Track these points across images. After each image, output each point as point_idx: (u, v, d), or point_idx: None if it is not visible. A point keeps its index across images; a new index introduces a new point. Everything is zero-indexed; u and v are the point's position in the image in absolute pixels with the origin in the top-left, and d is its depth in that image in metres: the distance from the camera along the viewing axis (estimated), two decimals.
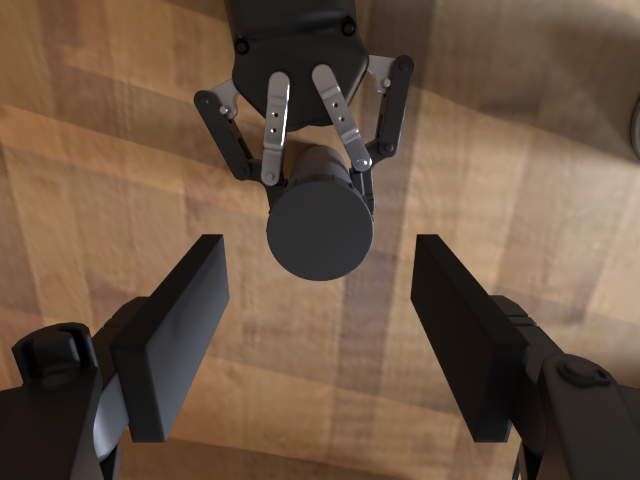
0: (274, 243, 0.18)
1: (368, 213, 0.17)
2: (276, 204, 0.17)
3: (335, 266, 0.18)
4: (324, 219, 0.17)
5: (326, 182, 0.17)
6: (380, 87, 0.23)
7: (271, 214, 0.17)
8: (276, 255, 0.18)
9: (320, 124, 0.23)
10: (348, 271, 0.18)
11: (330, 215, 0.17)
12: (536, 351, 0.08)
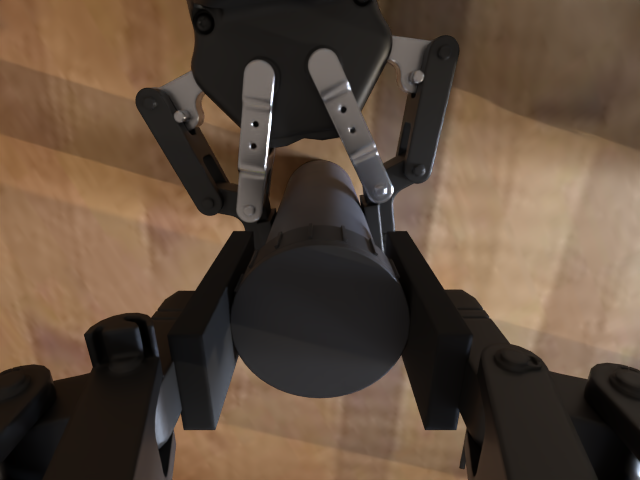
0: (243, 343, 0.11)
1: (403, 297, 0.10)
2: (245, 282, 0.10)
3: (345, 377, 0.11)
4: (327, 306, 0.10)
5: (331, 247, 0.10)
6: (407, 83, 0.16)
7: (236, 298, 0.10)
8: (247, 361, 0.11)
9: (320, 137, 0.16)
10: (366, 384, 0.11)
11: (337, 300, 0.10)
12: (484, 342, 0.09)
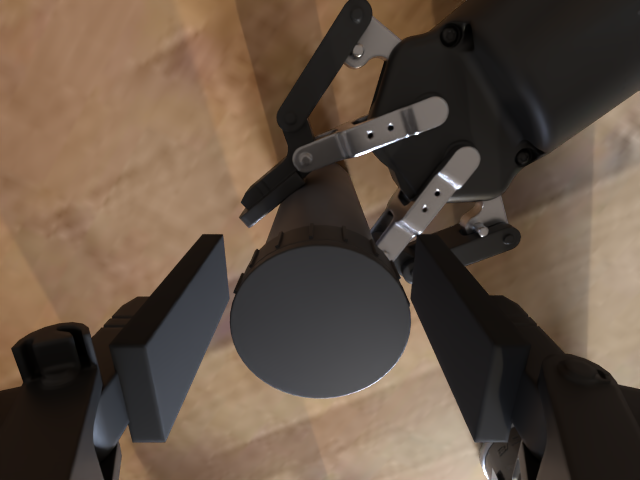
0: (277, 380, 0.11)
1: (359, 255, 0.10)
2: (234, 336, 0.11)
3: (379, 351, 0.11)
4: (308, 308, 0.10)
5: (265, 263, 0.10)
6: (471, 225, 0.19)
7: (239, 352, 0.11)
8: (293, 391, 0.11)
9: (402, 185, 0.17)
10: (403, 344, 0.11)
11: (311, 298, 0.10)
12: (537, 351, 0.08)
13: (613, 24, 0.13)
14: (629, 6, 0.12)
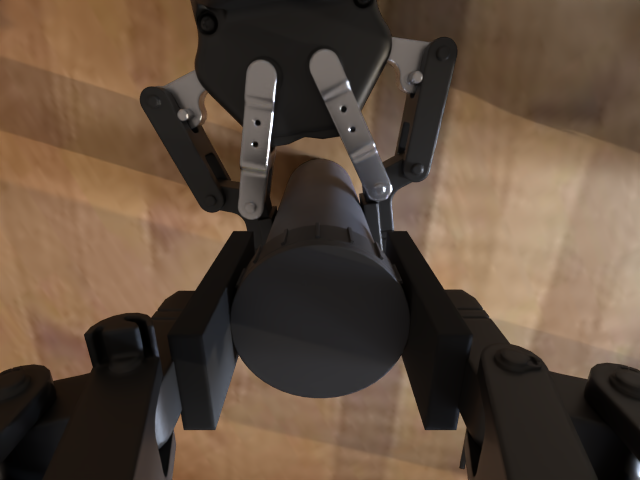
0: (350, 386, 0.11)
1: (265, 263, 0.10)
2: (287, 390, 0.11)
3: (377, 294, 0.10)
4: (293, 326, 0.10)
5: (232, 334, 0.10)
6: (406, 84, 0.16)
7: (304, 395, 0.11)
8: (371, 380, 0.11)
9: (321, 136, 0.17)
10: (383, 271, 0.10)
11: (285, 319, 0.10)
12: (484, 342, 0.09)
13: None
14: None
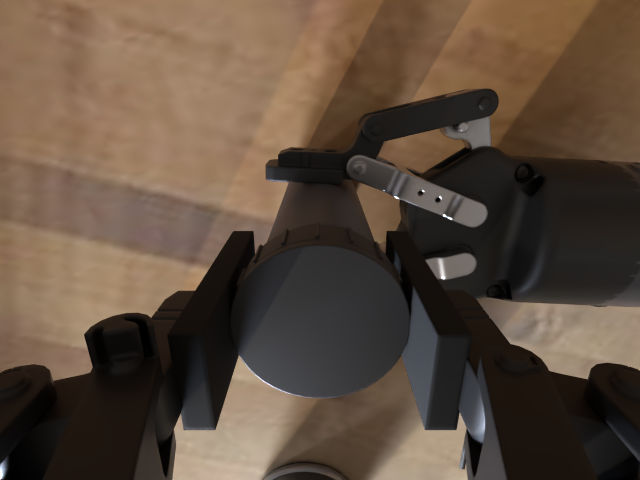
0: (350, 386, 0.11)
1: (265, 264, 0.10)
2: (287, 390, 0.11)
3: (377, 294, 0.10)
4: (294, 326, 0.10)
5: (232, 334, 0.10)
6: None
7: (304, 395, 0.11)
8: (371, 380, 0.11)
9: None
10: (383, 271, 0.10)
11: (285, 319, 0.10)
12: (484, 341, 0.09)
13: (620, 257, 0.16)
14: (636, 254, 0.16)
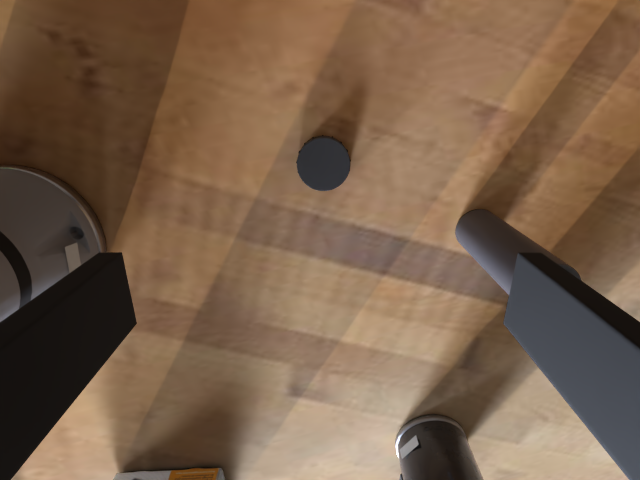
0: (333, 186, 0.36)
1: (308, 143, 0.35)
2: (313, 188, 0.36)
3: (339, 153, 0.35)
4: (315, 164, 0.35)
5: (297, 167, 0.35)
6: None
7: (318, 189, 0.36)
8: (339, 184, 0.36)
9: None
10: (341, 146, 0.35)
11: (313, 162, 0.35)
12: None
13: None
14: None
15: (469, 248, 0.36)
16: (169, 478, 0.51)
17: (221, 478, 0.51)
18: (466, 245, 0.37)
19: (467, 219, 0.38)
